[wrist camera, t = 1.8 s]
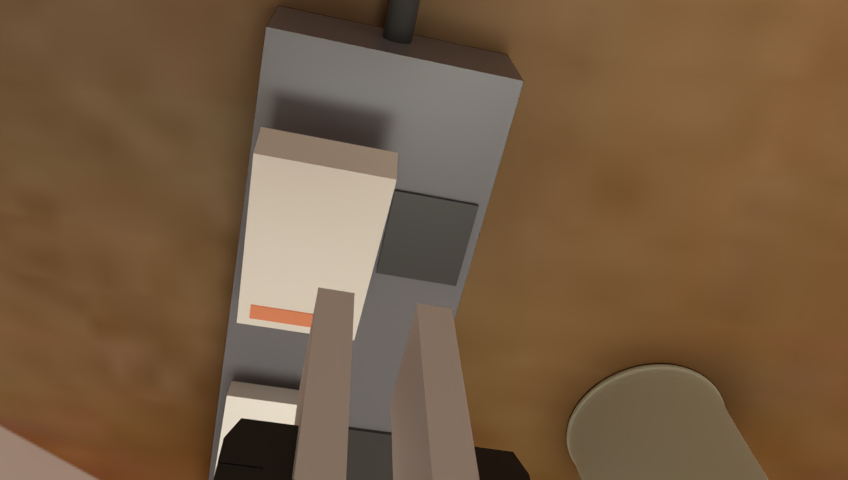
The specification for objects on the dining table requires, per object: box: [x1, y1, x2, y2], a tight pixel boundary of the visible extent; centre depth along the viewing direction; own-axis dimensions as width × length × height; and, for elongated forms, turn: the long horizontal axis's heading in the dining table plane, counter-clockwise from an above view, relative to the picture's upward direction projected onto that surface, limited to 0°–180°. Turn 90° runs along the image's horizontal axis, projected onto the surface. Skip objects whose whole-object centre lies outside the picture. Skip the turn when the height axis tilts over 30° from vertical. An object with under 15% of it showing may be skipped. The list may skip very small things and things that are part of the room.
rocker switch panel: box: [208, 0, 524, 480], centre depth 35 cm, size 34×10×5 cm, turn 167°
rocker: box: [237, 127, 398, 340], centre depth 30 cm, size 9×5×2 cm, turn 168°
